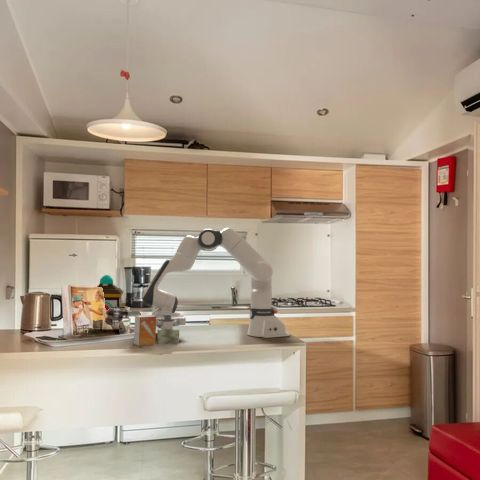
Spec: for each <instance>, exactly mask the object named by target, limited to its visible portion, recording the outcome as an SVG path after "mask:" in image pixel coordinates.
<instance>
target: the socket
mask: <svg viewBox="0 0 480 480" xmlns="http://www.w3.org/2000/svg"><path fill="white" fill-rule="evenodd" d="M155 343H156V344H176V343H177V344H178V343H180V329H179V328H178V329H175V328H174V329H172V330H161V329H157V332H156V337H155Z"/></svg>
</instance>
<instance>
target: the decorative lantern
mask: <svg viewBox="0 0 480 480" xmlns="http://www.w3.org/2000/svg"><path fill="white" fill-rule="evenodd" d="M96 287H102V288H103V292H104V298H105V308H106V310H108V309H109V308H110V307H115V306H118V307H125V304H124V302H123V301H122V296H123V295H124V291H123V289H121V288H120V287H118V286H117V285H115V284H114V279H113V277H112V276H111V275H109V274H104V275H103V276H101V278H100V279H99V284H98V285H97V286H96ZM125 308H126V307H125Z"/></svg>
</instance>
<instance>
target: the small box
mask: <svg viewBox="0 0 480 480" xmlns="http://www.w3.org/2000/svg"><path fill="white" fill-rule="evenodd" d="M156 329H157V326H156V316H153V315H151V314H140V315H139V314H138V315H134V332H133V333H134V334H133V344H134V345H136V346H138V347H141V346H155V345H156V341H155V337H156V333H157V330H156Z"/></svg>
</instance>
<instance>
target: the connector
mask: <svg viewBox="0 0 480 480" xmlns="http://www.w3.org/2000/svg"><path fill="white" fill-rule="evenodd" d="M161 321H162V326H161V328H160V330H173V327H174V326H173V319H172V318H171V315H170V314H164V318H161Z"/></svg>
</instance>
